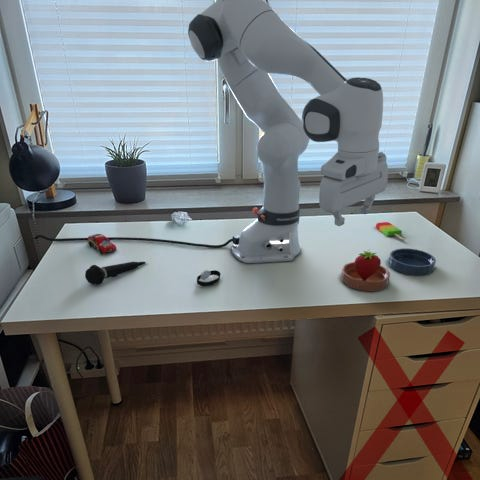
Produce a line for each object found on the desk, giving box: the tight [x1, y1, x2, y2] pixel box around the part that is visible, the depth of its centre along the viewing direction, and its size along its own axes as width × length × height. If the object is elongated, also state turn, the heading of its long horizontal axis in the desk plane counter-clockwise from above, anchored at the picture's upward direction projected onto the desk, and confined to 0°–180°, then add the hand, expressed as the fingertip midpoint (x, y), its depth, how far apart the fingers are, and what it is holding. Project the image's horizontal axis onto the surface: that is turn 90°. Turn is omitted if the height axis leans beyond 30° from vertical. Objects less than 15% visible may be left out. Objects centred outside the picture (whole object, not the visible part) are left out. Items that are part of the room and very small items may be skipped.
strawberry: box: [353, 249, 382, 280], centre depth 125 cm, size 6×8×10 cm
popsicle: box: [375, 221, 405, 241], centre depth 158 cm, size 6×15×2 cm, turn 15°
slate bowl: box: [388, 247, 437, 276], centre depth 136 cm, size 13×13×3 cm
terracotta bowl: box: [340, 261, 391, 292], centre depth 127 cm, size 13×13×3 cm
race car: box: [87, 233, 117, 256], centre depth 145 cm, size 13×5×4 cm, turn 39°
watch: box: [196, 269, 221, 287], centre depth 126 cm, size 8×5×4 cm, turn 131°
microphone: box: [84, 261, 146, 286], centre depth 129 cm, size 6×6×20 cm
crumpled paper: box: [170, 211, 193, 226], centre depth 166 cm, size 8×4×7 cm
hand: (352, 218), depth 107 cm, fingers open, 8 cm apart
